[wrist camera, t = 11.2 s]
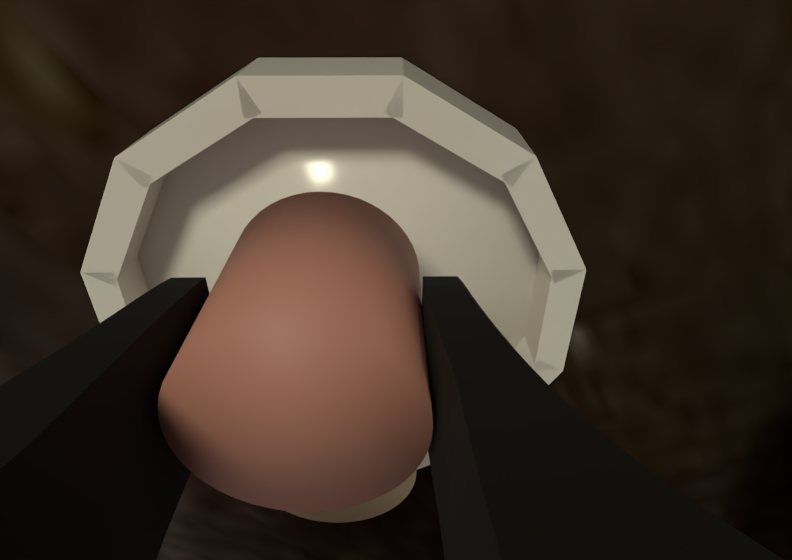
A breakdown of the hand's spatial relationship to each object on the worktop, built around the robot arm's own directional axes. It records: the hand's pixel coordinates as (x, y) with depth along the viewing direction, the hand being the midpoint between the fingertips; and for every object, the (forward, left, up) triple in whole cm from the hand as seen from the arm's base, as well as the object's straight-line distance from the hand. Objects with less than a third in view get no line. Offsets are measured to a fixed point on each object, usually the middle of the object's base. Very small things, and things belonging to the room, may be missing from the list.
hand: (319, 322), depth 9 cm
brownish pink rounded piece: (0, 0, -1) cm, 1 cm away
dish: (0, -2, -5) cm, 5 cm away
